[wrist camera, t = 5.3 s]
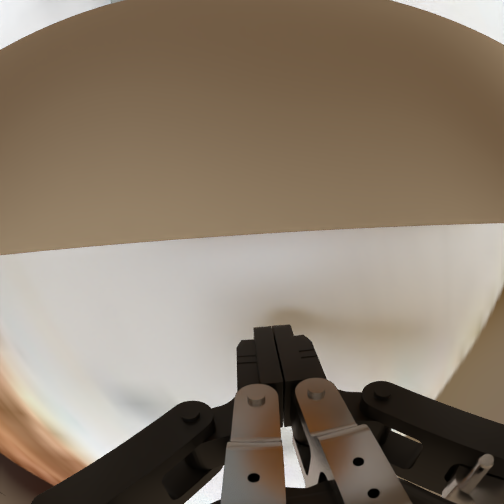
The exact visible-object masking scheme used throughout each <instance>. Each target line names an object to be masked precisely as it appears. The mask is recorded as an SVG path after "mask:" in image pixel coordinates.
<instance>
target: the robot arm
mask: <svg viewBox="0 0 504 504" xmlns="http://www.w3.org/2000/svg"><path fill="white" fill-rule="evenodd" d="M253 330H254V340H241V342H240V343H239V345H238V346H237V388H238V389H237V393H236V395H235V397H234V398H233V399H232V400H231V401H230V402H228V403H227V404H225V405H222V406H219V407H215V408H212V409H211V408H210V407H209V406H208V405H207V404H205V403H203V402H199V401H187V402H183V403H180V404H178V405H176V406H175V407H174V408H172V409H171V410H169V411H168V412H167V413H165V414H164V415H163V416H161V417H160V418H158V419H157V420H156V421H154V422H153V423H151V424H150V425H149V426H147V427H146V428H144V429H143V430H142V431H140V432H139V433H137V434H136V435H134V436H133V437H131V438H130V439H128V440H127V441H126V442H124V443H123V444H121V445H120V446H118V447H117V448H115V449H114V450H112V451H111V452H109V453H107V454H106V455H104V456H103V457H101V458H100V459H98V460H97V461H95V462H93V463H92V464H90V465H89V466H87V467H85V468H84V469H82V470H81V471H79V472H77V473H76V474H74V475H72V476H71V477H69V478H67V479H66V480H64V481H62V482H61V483H59V484H57V485H55V486H54V487H52V488H50V489H48V490H47V491H45V492H43V493H41V494H39V495H38V496H37V497H35V498H34V500H33V501H32V503H31V504H184V503H185V502H186V501H187V500H189V499H190V498H191V497H192V496H193V495H194V494H195V493H197V492H198V491H199V490H200V489H201V488H202V487H203V486H204V485H205V484H206V483H208V482H209V481H210V480H211V479H212V478H213V477H214V476H215V475H216V474H217V473H218V472H219V471H220V470H221V469H222V467H223V465H225V466H224V475H223V485H222V495H221V500H218V501H216V502H213V503H211V504H504V425H503V424H500V423H497V422H494V421H491V420H488V419H485V418H482V417H479V416H476V415H473V414H471V413H468V412H465V411H462V410H459V409H457V408H454V407H451V406H448V405H446V404H443V403H440V402H438V401H435V400H433V399H430V398H427V397H425V396H422V395H420V394H417V393H415V392H412V391H410V390H407V389H405V388H402V387H400V386H397V385H395V384H392V383H390V382H386V381H376V382H372V383H370V384H368V385H367V386H365V387H364V389H363V391H362V393H361V392H345V391H341V390H338V389H337V388H336V386H335V385H334V384H333V383H332V382H331V381H329V380H327V379H326V376H325V374H324V371H323V369H322V366H321V364H320V361H319V359H318V357H317V354H316V352H315V350H314V347H313V344H312V342H311V341H310V340H309V339H308V338H307V337H305V336H304V335H298V336H294V335H293V332H292V329H291V326H290V325H279V326H272V328H271V326H268V327H255V328H253ZM283 422H284V427H287V426H292V431H293V441H292V442H293V446H294V449H295V452H296V455H297V458H298V462H299V465H300V468H301V471H302V474H303V477H304V481H305V488H289V487H285V476H284V460H283V445H282V440H281V430H280V427H283ZM391 428H392V429H394V430H397V431H399V432H401V433H403V434H406V435H408V436H410V437H413V438H415V439H417V440H419V441H420V442H421V443H422V444H421V443H418V442H415V441H413V440H411V439H408V438H406V437H404V436H402V435H400V434H397V433H395V432H393V431H391ZM396 475H397V476H399V477H401V478H404V479H406V480H408V481H410V482H413V483H415V484H417V485H419V486H422V487H424V488H426V489H429V490H431V491H434V492H436V493H439V494H441V495H442V497H443V498H442V497H440V496H438V495H435V494H433V493H431V492H429V491H427V490H424V489H422V488H420V487H418V486H416V485H414V484H412V483H410V482H408V481H405V480H403V479H400V478H398V477H397V476H396Z"/></svg>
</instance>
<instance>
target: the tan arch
mask: <svg viewBox="0 0 504 504" xmlns="http://www.w3.org/2000/svg"><path fill="white" fill-rule="evenodd" d="M483 223H504V45H503V44H501V43H499V42H497V41H496V40H494V39H492V38H490V37H488V36H486V35H484V34H482V33H479V32H477V31H475V30H473V29H471V28H468V27H466V26H464V25H462V24H459V23H457V22H454V21H452V20H449V19H447V18H444V17H441V16H439V15H436V14H433V13H430V12H427V11H424V10H421V9H418V8H415V7H412V6H409V5H405V4H402V3H398V2H394V1H391V0H123V1H120V2H116V3H112V4H109V5H105V6H102V7H99V8H96V9H92V10H89V11H86V12H83V13H81V14H78V15H75V16H72V17H70V18H67V19H64V20H62V21H59V22H57V23H54V24H52V25H50V26H47V27H45V28H43V29H41V30H38V31H36V32H34V33H32V34H30V35H28V36H26V37H24V38H22V39H20V40H18V41H16V42H14V43H12V44H10V45H8V46H7V47H5V48H3V49H1V50H0V255H6V254H16V253H26V252H36V251H46V250H57V249H68V248H79V247H90V246H101V245H113V244H125V243H138V242H150V241H163V240H176V239H190V238H204V237H218V236H233V235H248V234H264V233H281V232H298V231H315V230H334V229H354V228H375V227H397V226H422V225H450V224H483Z"/></svg>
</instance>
